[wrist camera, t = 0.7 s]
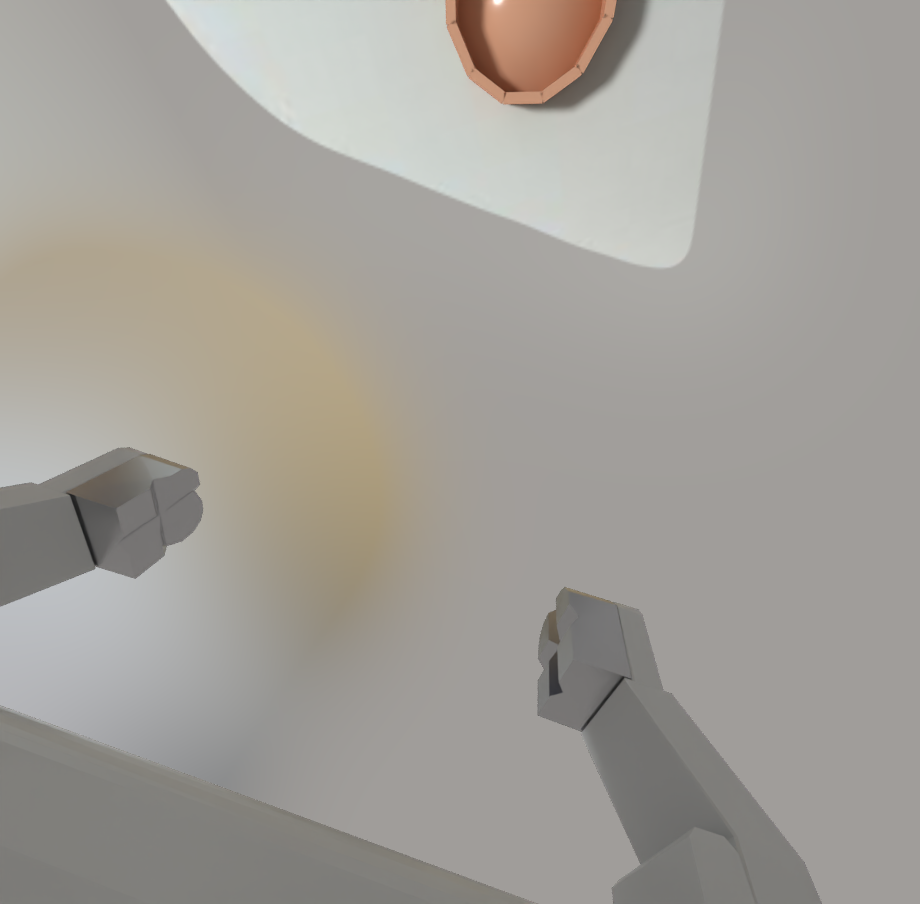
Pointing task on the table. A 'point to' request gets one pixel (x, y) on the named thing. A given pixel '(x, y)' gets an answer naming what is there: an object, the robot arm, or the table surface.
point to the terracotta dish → (527, 43)
